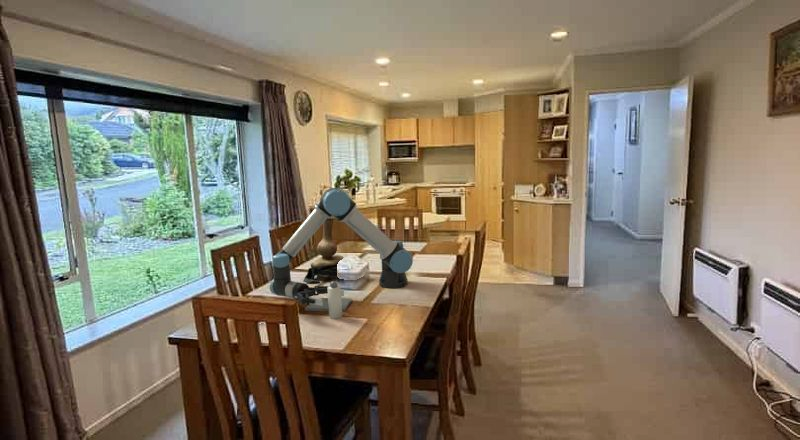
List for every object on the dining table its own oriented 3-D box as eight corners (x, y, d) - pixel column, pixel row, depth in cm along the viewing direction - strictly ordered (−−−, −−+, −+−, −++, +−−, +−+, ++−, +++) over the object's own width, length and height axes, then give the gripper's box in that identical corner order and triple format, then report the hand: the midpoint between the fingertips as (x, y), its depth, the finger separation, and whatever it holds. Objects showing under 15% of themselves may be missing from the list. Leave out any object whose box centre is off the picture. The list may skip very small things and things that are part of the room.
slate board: (351, 300, 201) (351, 298, 201) (344, 311, 187) (343, 308, 187) (315, 300, 204) (315, 298, 203) (304, 310, 190) (304, 308, 190)
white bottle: (343, 314, 184) (341, 279, 182) (340, 318, 179) (338, 283, 176) (331, 313, 185) (329, 279, 183) (327, 318, 179) (325, 283, 177)
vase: (341, 282, 231) (338, 219, 226) (301, 284, 232) (296, 221, 227) (347, 271, 255) (344, 213, 250) (310, 272, 255) (306, 215, 250)
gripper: (317, 291, 203) (352, 297, 191) (276, 307, 182) (312, 315, 171) (316, 275, 202) (351, 281, 190) (275, 290, 181) (311, 297, 170)
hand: (333, 297), depth 181 cm, fingers open, 13 cm apart
